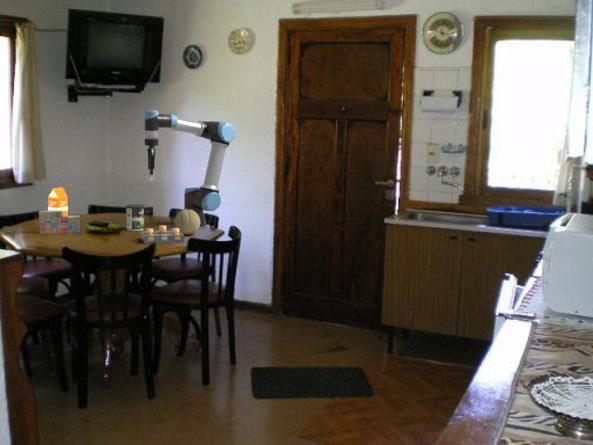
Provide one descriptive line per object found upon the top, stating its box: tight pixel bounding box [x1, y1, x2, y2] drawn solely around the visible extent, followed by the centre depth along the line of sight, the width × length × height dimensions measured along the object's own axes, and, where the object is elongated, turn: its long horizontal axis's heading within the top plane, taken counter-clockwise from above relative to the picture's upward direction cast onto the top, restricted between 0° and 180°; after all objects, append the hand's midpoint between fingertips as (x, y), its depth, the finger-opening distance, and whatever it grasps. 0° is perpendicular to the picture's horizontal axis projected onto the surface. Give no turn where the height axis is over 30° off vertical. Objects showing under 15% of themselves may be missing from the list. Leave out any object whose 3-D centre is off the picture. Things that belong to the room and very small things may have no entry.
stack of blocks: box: [38, 209, 81, 235], centre depth 396 cm, size 21×6×12 cm, turn 105°
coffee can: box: [125, 204, 145, 232], centre depth 415 cm, size 10×10×14 cm
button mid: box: [158, 224, 167, 234], centre depth 385 cm, size 4×4×5 cm
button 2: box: [171, 227, 179, 234], centre depth 388 cm, size 4×4×5 cm
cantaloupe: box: [174, 208, 201, 236], centre depth 405 cm, size 15×15×15 cm
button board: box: [140, 230, 185, 244], centre depth 386 cm, size 21×14×4 cm
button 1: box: [145, 227, 154, 234], centre depth 383 cm, size 4×4×5 cm
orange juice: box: [47, 187, 69, 216], centre depth 434 cm, size 8×9×20 cm
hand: (151, 180), depth 399 cm, fingers closed
